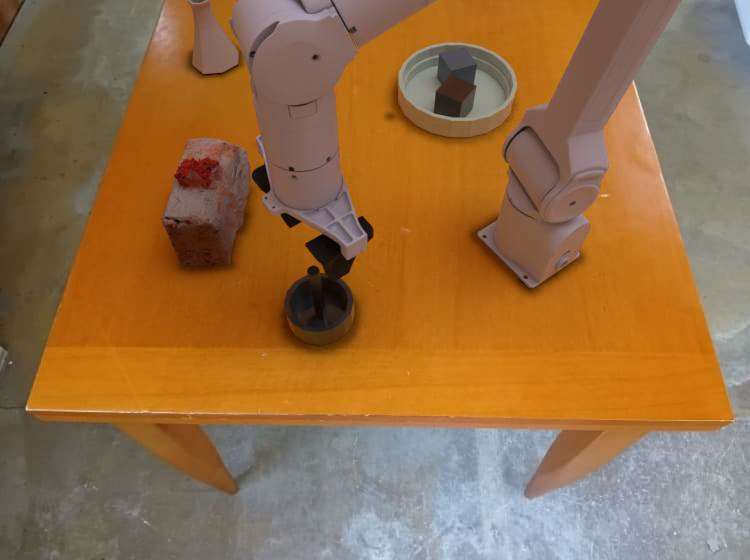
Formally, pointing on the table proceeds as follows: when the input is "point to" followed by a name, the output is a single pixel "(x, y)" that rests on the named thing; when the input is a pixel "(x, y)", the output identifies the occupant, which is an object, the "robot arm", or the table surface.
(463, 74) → the slate block
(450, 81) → the walnut block
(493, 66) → the bowl
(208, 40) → the flask
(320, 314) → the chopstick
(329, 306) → the holder
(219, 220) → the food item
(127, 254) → the table surface
